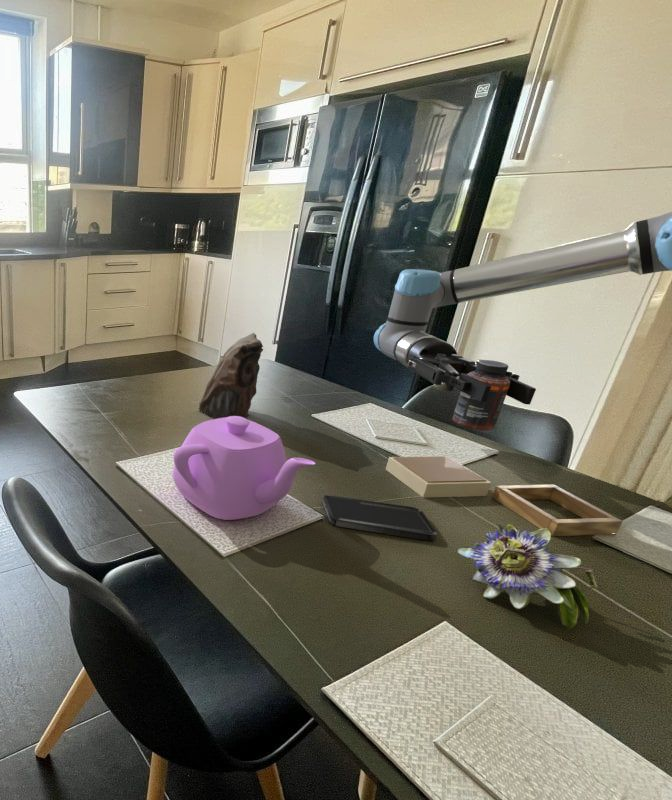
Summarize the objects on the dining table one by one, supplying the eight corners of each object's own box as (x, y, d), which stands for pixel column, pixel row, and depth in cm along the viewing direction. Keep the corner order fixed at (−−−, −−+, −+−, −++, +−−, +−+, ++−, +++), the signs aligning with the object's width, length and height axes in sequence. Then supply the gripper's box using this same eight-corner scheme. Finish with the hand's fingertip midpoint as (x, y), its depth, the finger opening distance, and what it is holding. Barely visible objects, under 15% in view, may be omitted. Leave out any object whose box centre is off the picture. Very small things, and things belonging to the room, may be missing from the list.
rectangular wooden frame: (548, 496, 87) (553, 484, 86) (616, 534, 77) (623, 521, 76) (491, 497, 86) (496, 485, 85) (552, 536, 76) (558, 523, 75)
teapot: (140, 491, 86) (146, 414, 81) (227, 465, 96) (238, 394, 90) (234, 571, 68) (251, 477, 62) (332, 529, 77) (354, 444, 71)
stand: (442, 468, 96) (447, 454, 95) (486, 496, 87) (491, 481, 86) (385, 469, 95) (389, 456, 94) (423, 497, 86) (427, 483, 85)
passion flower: (477, 629, 66) (436, 544, 67) (524, 593, 69) (484, 513, 71) (581, 650, 55) (530, 549, 56) (630, 606, 59) (581, 512, 60)
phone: (439, 536, 74) (332, 519, 77) (437, 542, 74) (330, 525, 78) (420, 507, 81) (322, 493, 84) (418, 513, 81) (321, 498, 85)
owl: (240, 405, 125) (252, 330, 118) (270, 425, 114) (285, 343, 107) (196, 409, 123) (205, 332, 115) (221, 430, 111) (233, 345, 104)
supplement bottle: (487, 421, 86) (510, 360, 82) (498, 434, 81) (523, 370, 77) (447, 415, 89) (467, 356, 84) (455, 427, 84) (477, 365, 79)
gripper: (469, 374, 99) (563, 420, 78) (372, 370, 101) (438, 413, 80) (481, 339, 96) (582, 376, 75) (381, 334, 98) (452, 370, 77)
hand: (508, 395), depth 77 cm, fingers closed on supplement bottle, 6 cm apart
